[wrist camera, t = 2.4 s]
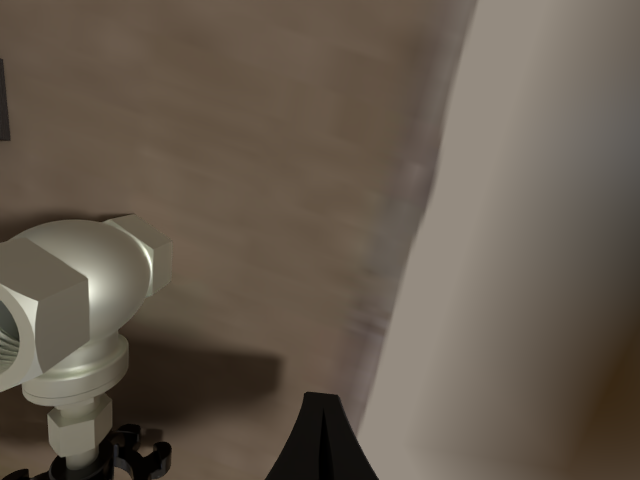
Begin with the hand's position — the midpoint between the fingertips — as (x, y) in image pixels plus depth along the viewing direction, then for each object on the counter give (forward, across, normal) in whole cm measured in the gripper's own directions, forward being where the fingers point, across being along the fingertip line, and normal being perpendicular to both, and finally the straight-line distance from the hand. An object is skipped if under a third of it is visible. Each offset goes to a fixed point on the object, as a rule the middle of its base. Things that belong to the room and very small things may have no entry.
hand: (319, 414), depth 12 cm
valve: (+3, +9, -1) cm, 9 cm away
